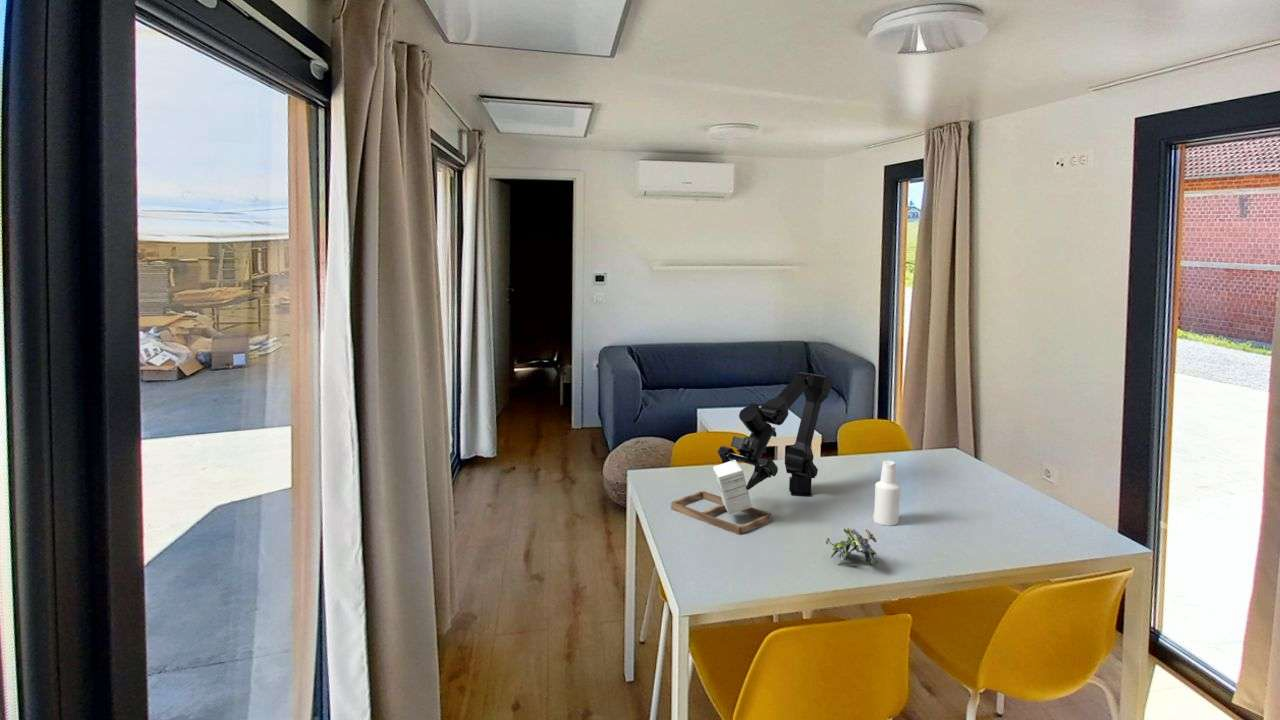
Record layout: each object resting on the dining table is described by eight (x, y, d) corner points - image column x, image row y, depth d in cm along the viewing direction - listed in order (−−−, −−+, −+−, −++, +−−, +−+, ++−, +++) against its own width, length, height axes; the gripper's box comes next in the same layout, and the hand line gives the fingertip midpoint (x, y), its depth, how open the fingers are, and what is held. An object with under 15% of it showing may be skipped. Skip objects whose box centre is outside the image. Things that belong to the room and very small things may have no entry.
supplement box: (722, 503, 203) (711, 466, 199) (745, 495, 203) (736, 458, 200) (728, 515, 196) (717, 477, 192) (752, 507, 196) (742, 469, 193)
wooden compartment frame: (702, 496, 219) (702, 490, 219) (772, 520, 200) (772, 514, 200) (669, 508, 209) (669, 502, 209) (740, 535, 190) (740, 528, 189)
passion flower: (866, 584, 174) (891, 559, 166) (828, 581, 171) (851, 555, 163) (853, 545, 182) (875, 519, 174) (816, 541, 179) (838, 515, 171)
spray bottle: (897, 518, 202) (901, 460, 199) (898, 527, 195) (902, 466, 193) (873, 515, 204) (876, 457, 201) (872, 524, 198) (876, 464, 195)
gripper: (721, 419, 205) (696, 463, 200) (773, 431, 192) (747, 478, 186) (737, 439, 212) (713, 482, 206) (788, 452, 198) (764, 499, 193)
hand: (733, 485), depth 198 cm, fingers closed on supplement box, 9 cm apart
